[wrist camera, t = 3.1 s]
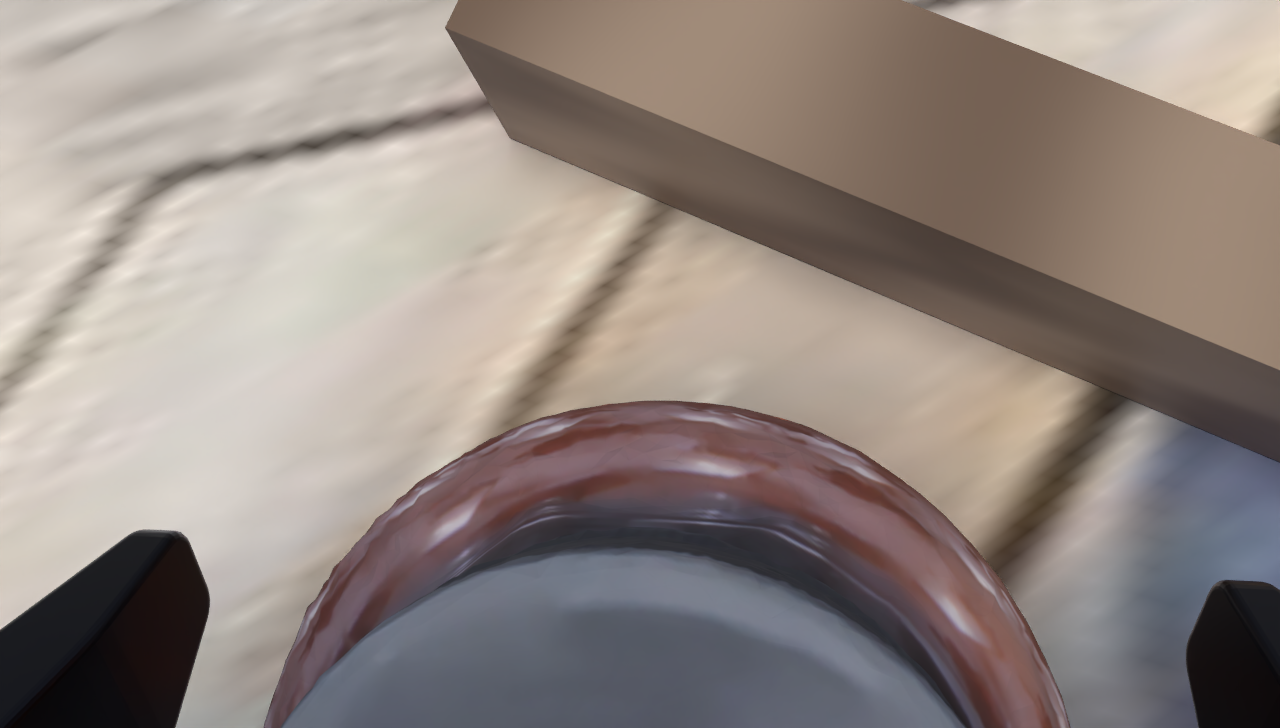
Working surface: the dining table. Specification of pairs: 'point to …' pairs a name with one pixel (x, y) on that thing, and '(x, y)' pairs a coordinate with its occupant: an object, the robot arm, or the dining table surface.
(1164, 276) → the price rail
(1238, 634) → the robot arm
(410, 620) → the supplement bottle
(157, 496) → the dining table surface
